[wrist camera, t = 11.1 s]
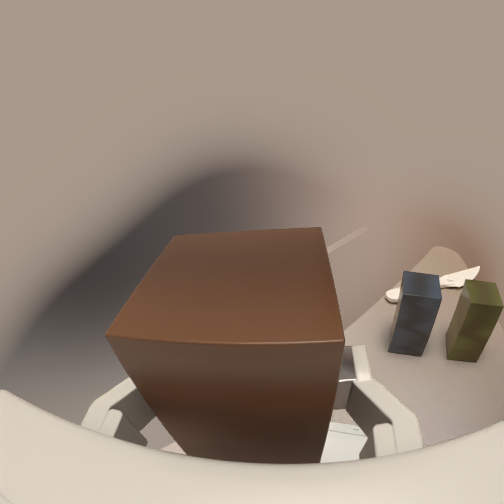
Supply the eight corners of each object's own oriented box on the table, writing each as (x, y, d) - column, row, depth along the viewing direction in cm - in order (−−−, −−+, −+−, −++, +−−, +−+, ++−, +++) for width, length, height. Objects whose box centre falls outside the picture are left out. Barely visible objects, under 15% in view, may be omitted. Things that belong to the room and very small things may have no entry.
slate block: (422, 331, 36) (438, 274, 31) (421, 356, 32) (442, 298, 27) (391, 327, 38) (403, 270, 33) (388, 351, 34) (402, 293, 29)
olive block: (473, 337, 32) (495, 282, 27) (476, 362, 28) (503, 306, 23) (445, 334, 34) (465, 278, 29) (446, 359, 30) (471, 302, 26)
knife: (393, 308, 41) (394, 302, 41) (381, 293, 45) (382, 288, 44) (492, 278, 42) (493, 273, 42) (479, 268, 46) (480, 263, 45)
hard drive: (365, 536, 13) (393, 429, 23) (277, 520, 16) (320, 418, 26) (361, 537, 14) (390, 435, 24) (278, 522, 17) (319, 424, 27)
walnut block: (316, 482, 10) (349, 341, 5) (206, 477, 10) (103, 334, 6) (315, 399, 14) (323, 226, 9) (223, 398, 15) (174, 235, 10)
